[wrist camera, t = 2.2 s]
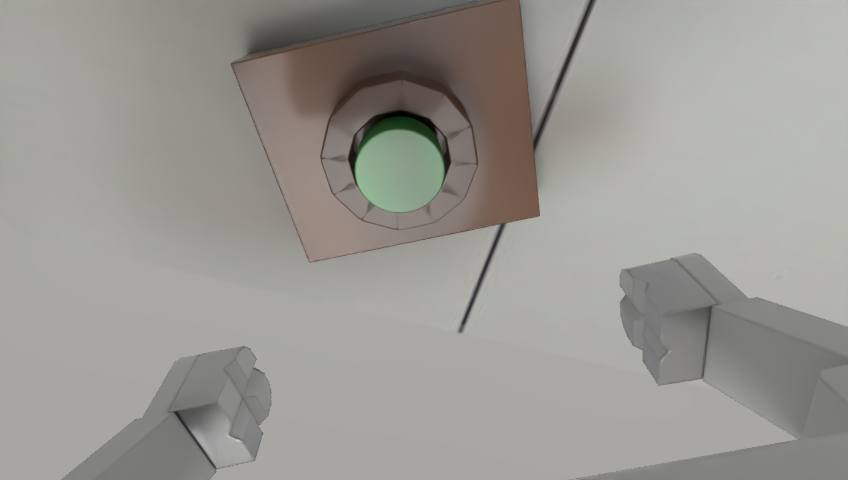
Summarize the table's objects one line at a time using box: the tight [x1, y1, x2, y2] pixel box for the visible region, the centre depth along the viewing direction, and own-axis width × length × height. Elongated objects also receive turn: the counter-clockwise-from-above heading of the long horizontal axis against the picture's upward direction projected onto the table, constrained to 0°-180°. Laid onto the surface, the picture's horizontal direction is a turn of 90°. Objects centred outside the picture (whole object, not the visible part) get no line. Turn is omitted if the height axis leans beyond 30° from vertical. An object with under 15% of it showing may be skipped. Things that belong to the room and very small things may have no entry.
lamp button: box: [354, 116, 445, 213], centre depth 19 cm, size 4×4×2 cm
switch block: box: [231, 0, 540, 262], centre depth 21 cm, size 12×10×4 cm
